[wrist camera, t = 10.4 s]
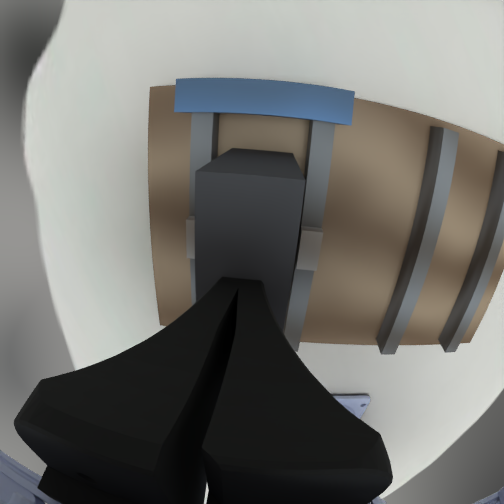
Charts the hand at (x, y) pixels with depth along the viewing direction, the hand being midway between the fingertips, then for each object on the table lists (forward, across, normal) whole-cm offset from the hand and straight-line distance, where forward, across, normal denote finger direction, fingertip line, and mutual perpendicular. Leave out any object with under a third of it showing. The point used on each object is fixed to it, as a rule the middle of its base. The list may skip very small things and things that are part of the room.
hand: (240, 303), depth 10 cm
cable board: (+8, -6, 0) cm, 10 cm away
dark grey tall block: (+7, 0, 0) cm, 7 cm away
